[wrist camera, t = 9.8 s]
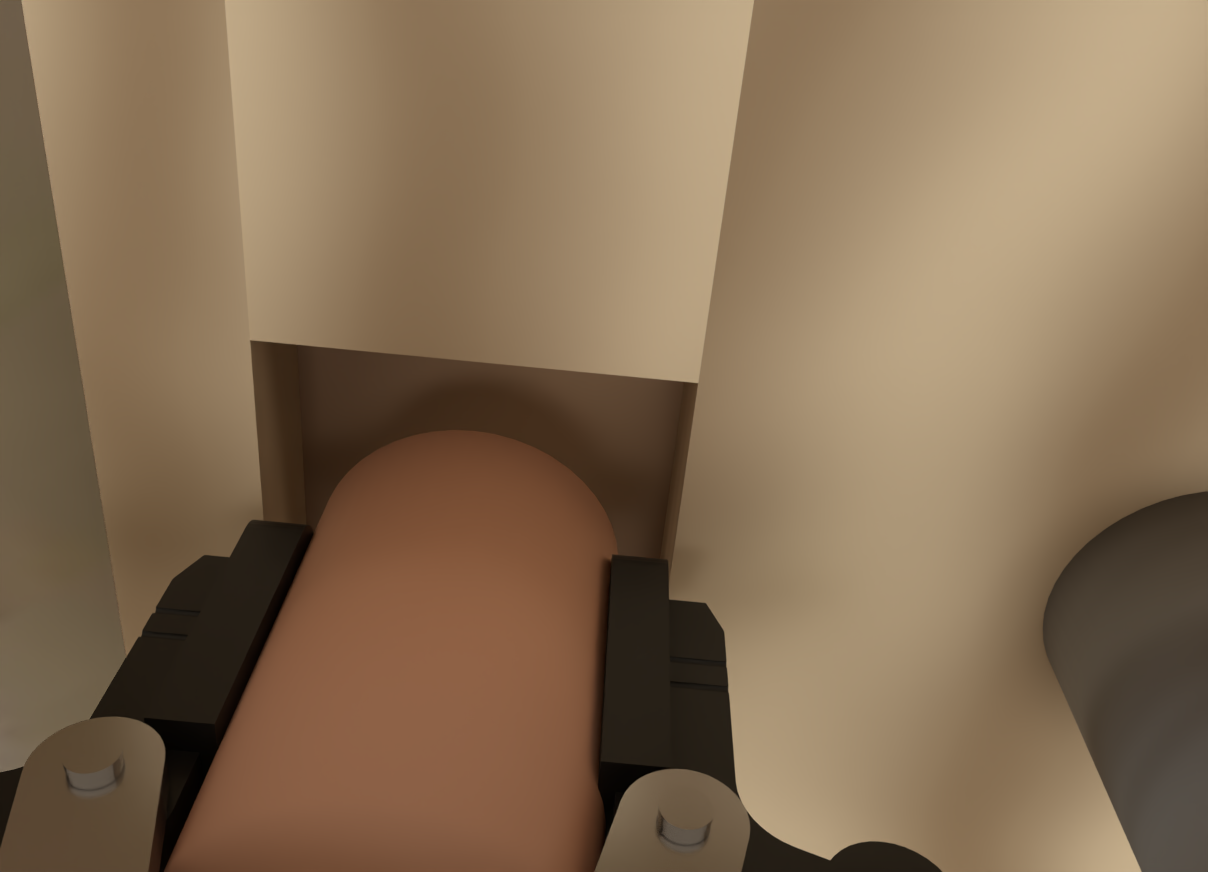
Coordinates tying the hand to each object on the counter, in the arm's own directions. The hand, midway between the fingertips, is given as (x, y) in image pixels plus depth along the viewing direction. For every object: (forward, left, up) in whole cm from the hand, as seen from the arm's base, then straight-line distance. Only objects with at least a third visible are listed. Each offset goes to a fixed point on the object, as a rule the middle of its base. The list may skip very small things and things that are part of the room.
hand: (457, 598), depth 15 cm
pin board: (-5, 0, -4) cm, 7 cm away
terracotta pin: (0, 0, -1) cm, 1 cm away
